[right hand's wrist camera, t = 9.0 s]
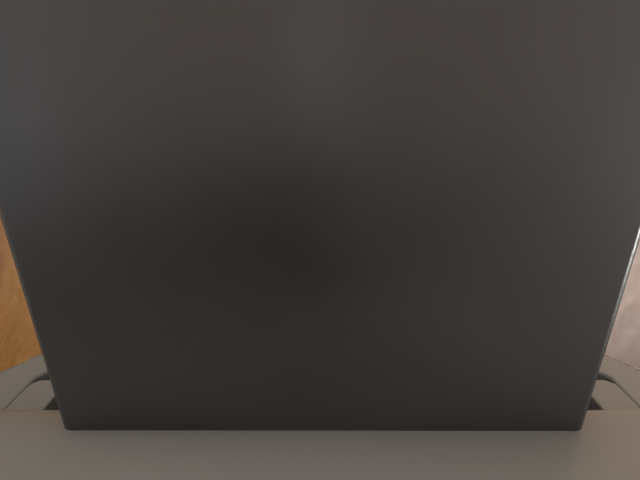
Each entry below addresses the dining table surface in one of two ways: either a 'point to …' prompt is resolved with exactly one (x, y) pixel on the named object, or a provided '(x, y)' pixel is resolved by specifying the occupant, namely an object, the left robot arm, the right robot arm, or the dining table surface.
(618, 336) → the dining table surface
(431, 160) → the box
